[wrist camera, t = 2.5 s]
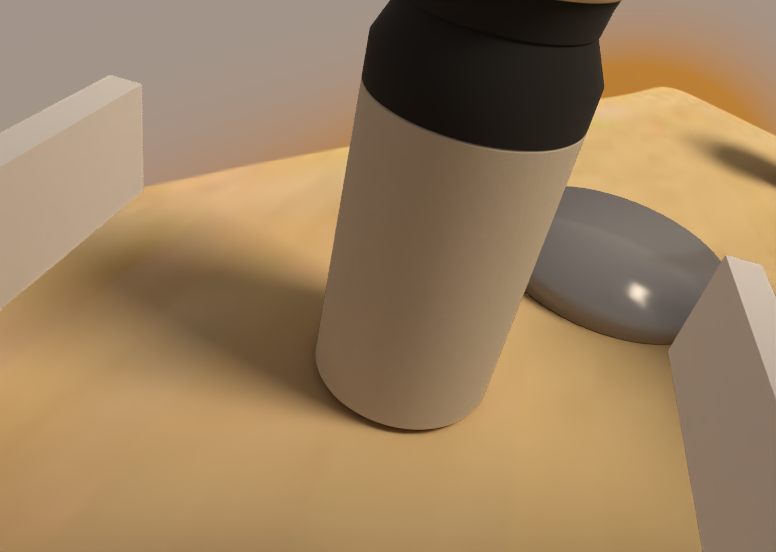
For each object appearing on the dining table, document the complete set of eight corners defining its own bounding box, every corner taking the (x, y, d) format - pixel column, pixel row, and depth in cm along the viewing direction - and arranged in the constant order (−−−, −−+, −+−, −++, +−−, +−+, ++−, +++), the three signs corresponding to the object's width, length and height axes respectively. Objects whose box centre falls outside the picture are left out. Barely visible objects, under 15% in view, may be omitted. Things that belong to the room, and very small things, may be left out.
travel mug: (519, 398, 31) (697, -10, 20) (377, 462, 27) (510, -14, 16) (418, 295, 36) (519, -78, 25) (283, 335, 31) (338, -97, 21)
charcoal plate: (701, 240, 47) (711, 222, 46) (740, 374, 35) (754, 354, 35) (504, 185, 48) (511, 166, 47) (481, 298, 37) (489, 276, 36)
